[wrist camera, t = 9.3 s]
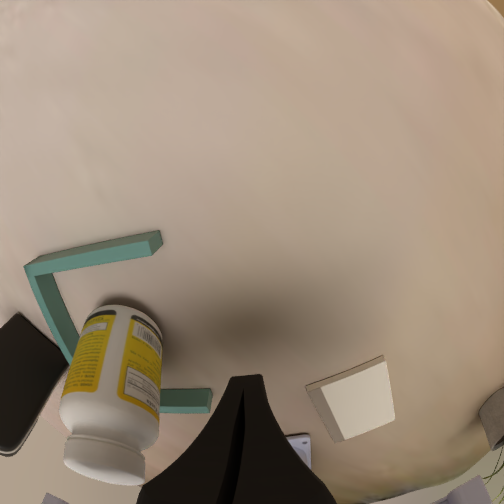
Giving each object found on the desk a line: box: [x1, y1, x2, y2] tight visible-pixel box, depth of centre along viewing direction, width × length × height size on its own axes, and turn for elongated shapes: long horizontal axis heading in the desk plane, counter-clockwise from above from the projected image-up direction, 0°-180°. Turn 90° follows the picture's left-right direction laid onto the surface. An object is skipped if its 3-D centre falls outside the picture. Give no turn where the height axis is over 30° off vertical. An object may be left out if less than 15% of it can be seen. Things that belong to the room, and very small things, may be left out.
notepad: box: [306, 356, 395, 443], centre depth 19 cm, size 9×6×1 cm, turn 24°
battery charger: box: [0, 314, 70, 457], centre depth 13 cm, size 7×4×11 cm, turn 52°
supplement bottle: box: [59, 305, 163, 485], centre depth 12 cm, size 5×5×10 cm
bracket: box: [24, 230, 213, 413], centre depth 17 cm, size 13×10×2 cm
